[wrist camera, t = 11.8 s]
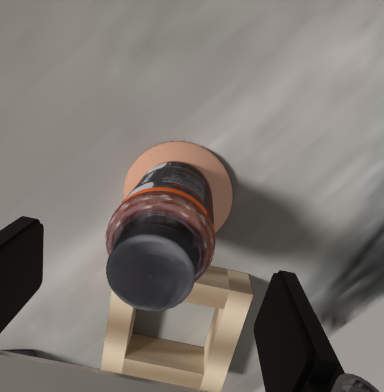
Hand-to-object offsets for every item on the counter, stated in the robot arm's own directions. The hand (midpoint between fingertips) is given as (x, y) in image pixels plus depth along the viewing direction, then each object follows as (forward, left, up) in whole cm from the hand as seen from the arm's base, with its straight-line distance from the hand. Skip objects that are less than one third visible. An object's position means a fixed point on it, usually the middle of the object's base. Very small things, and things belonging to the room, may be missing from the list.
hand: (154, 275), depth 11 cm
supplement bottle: (+1, 0, -12) cm, 12 cm away
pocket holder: (+13, +2, -13) cm, 18 cm away
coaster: (+1, 0, -13) cm, 13 cm away
